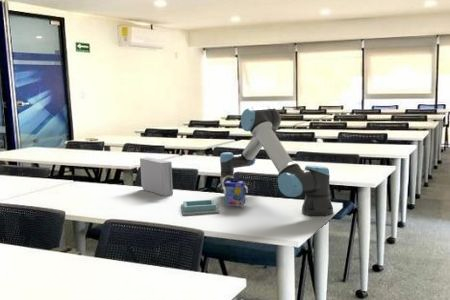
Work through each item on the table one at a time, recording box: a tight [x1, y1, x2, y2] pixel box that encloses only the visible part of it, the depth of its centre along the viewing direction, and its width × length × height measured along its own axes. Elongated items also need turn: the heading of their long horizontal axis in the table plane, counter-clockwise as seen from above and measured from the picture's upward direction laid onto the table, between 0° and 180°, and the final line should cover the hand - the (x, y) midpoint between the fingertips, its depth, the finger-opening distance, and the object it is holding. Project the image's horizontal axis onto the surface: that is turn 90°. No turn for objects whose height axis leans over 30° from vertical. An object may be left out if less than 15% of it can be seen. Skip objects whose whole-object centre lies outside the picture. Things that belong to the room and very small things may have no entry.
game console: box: [139, 156, 174, 197], centre depth 301 cm, size 6×27×20 cm, turn 39°
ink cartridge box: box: [224, 177, 246, 207], centre depth 258 cm, size 10×6×14 cm, turn 76°
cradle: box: [180, 199, 220, 217], centre depth 257 cm, size 20×18×4 cm
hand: (236, 191), depth 254 cm, fingers closed on ink cartridge box, 11 cm apart
